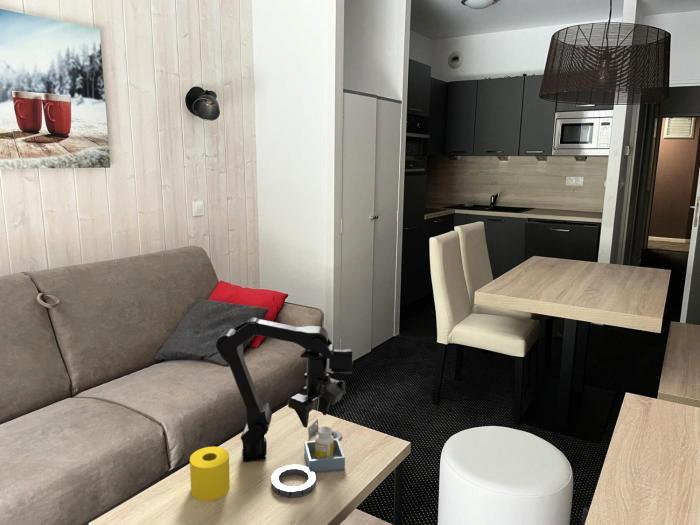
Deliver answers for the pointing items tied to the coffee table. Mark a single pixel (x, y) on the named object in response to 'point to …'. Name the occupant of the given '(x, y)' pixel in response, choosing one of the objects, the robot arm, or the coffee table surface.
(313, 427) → the bracket
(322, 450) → the supplement bottle
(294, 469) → the socket ring
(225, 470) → the yellow paper roll
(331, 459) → the bin
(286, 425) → the coffee table surface
